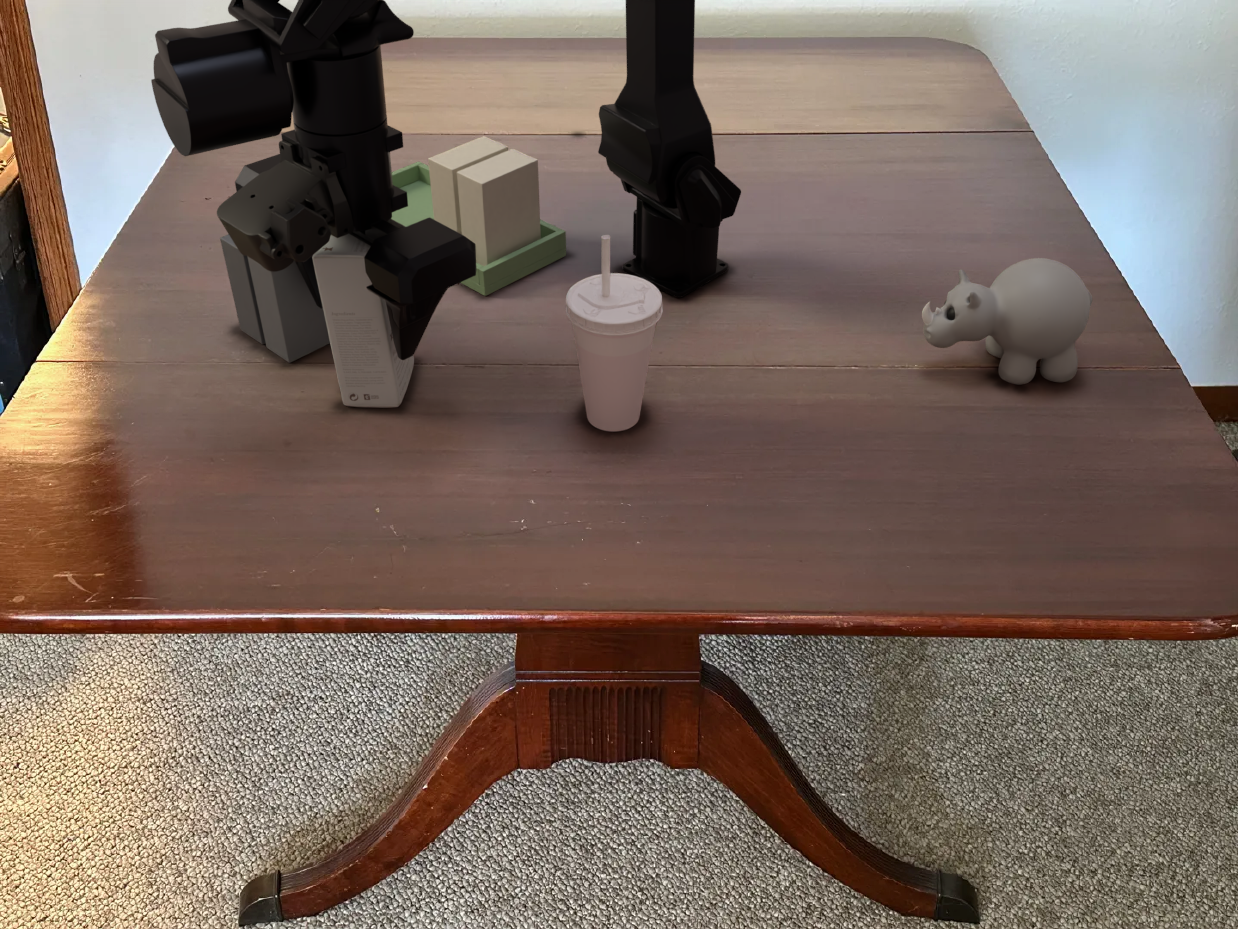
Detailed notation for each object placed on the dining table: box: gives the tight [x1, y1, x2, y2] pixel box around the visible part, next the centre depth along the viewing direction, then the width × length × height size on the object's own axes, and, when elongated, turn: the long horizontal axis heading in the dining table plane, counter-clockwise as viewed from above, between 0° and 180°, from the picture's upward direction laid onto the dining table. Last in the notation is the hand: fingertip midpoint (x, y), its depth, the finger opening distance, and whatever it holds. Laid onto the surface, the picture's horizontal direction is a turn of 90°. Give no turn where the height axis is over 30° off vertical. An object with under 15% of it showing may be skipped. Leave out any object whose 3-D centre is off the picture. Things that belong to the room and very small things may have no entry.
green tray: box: [391, 160, 567, 297], centre depth 104 cm, size 19×9×2 cm, turn 47°
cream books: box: [427, 135, 541, 266], centre depth 99 cm, size 6×6×8 cm
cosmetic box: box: [312, 234, 415, 408], centre depth 84 cm, size 6×4×12 cm
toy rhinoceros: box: [921, 257, 1093, 385], centre depth 87 cm, size 7×12×8 cm, turn 92°
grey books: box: [219, 233, 330, 364], centre depth 91 cm, size 6×6×8 cm
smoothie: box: [565, 234, 664, 432], centre depth 81 cm, size 6×6×14 cm
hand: (364, 330), depth 85 cm, fingers open, 9 cm apart
